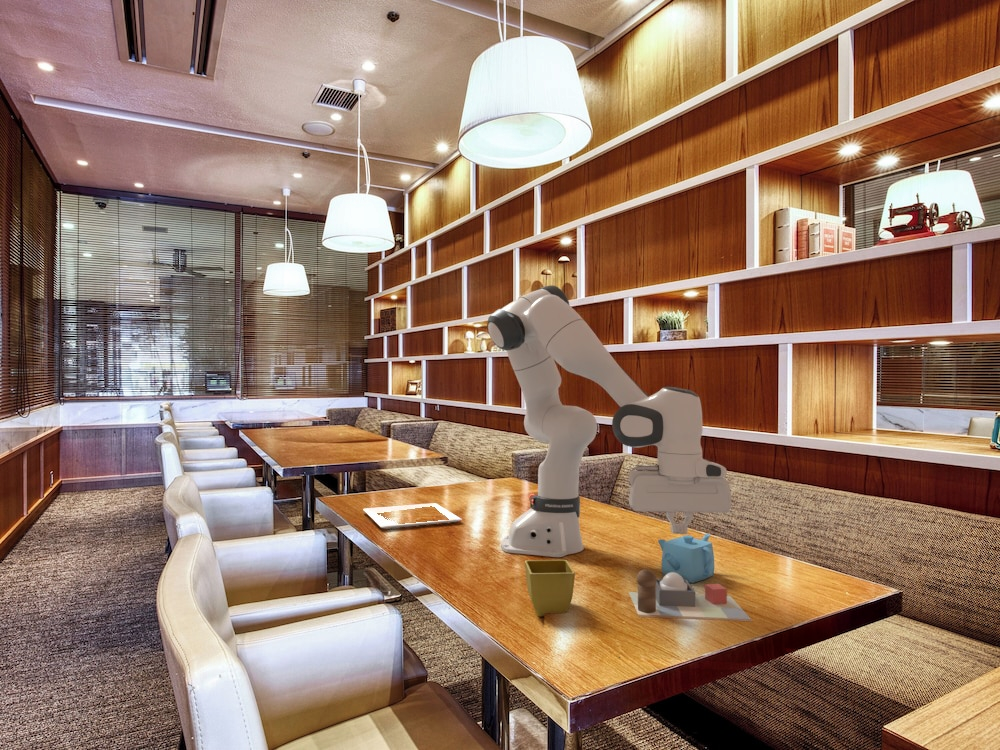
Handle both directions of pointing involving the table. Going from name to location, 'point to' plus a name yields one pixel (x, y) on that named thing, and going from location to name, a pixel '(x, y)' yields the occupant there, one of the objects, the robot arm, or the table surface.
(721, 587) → the red cube
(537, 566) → the flower pot
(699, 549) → the teapot
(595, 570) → the table surface
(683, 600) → the board
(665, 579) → the dome
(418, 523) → the white frame
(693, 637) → the table surface
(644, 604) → the pawn
